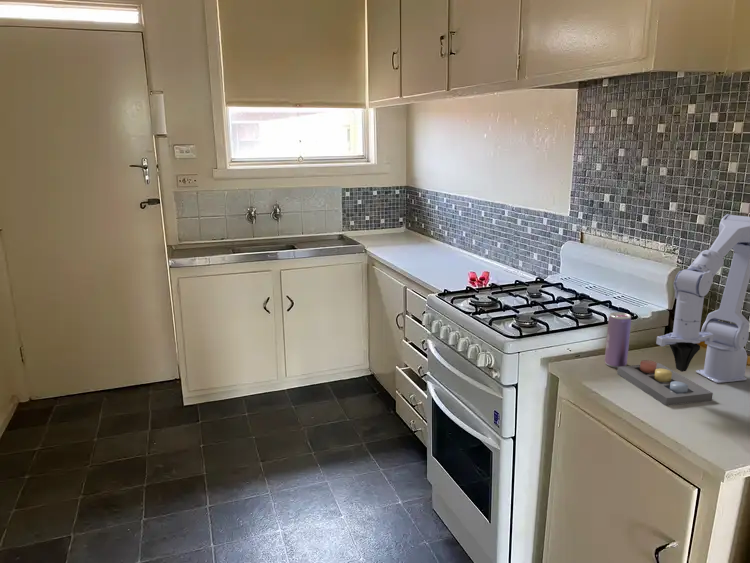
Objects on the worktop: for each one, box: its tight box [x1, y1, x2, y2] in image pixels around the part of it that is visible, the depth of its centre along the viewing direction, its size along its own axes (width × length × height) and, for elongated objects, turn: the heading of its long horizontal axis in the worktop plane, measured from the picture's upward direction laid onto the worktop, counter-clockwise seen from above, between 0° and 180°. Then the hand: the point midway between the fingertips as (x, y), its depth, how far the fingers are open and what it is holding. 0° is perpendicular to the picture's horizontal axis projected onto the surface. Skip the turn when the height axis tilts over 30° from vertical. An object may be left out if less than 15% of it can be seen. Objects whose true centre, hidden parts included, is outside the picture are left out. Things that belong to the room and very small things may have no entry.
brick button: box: [639, 359, 658, 373], centre depth 155 cm, size 4×4×2 cm
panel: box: [616, 362, 714, 406], centre depth 150 cm, size 13×20×2 cm, turn 11°
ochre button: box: [654, 368, 672, 382], centre depth 150 cm, size 4×4×2 cm
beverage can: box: [604, 311, 632, 369], centre depth 163 cm, size 6×6×15 cm
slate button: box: [670, 381, 688, 394], centre depth 144 cm, size 4×4×2 cm
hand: (681, 369), depth 143 cm, fingers closed
